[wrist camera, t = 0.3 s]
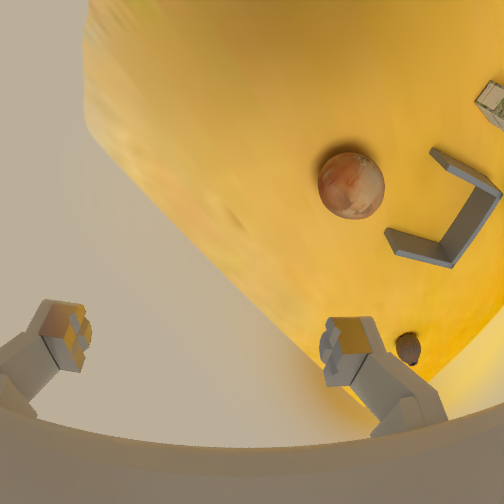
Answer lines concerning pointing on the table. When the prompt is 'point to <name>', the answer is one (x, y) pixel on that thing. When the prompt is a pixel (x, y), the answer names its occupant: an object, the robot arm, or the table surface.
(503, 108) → the syrup box
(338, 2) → the table surface
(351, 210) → the onion
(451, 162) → the box
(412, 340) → the vase
